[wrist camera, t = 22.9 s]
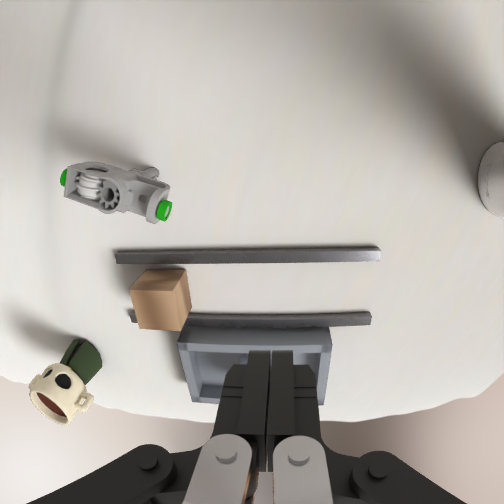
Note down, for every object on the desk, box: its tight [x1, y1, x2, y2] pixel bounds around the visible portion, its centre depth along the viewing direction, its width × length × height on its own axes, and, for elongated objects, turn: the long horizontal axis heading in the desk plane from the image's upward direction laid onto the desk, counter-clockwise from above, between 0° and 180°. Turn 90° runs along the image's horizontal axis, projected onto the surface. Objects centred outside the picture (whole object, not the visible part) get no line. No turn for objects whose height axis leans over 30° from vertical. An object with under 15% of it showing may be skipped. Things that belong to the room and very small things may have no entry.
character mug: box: [29, 339, 102, 425], centre depth 37 cm, size 11×7×13 cm, turn 84°
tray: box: [177, 326, 332, 405], centre depth 38 cm, size 18×11×4 cm, turn 92°
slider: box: [129, 270, 192, 331], centre depth 34 cm, size 6×5×5 cm
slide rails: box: [115, 247, 381, 328], centre depth 35 cm, size 30×10×1 cm, turn 92°
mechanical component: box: [60, 162, 172, 224], centre depth 27 cm, size 3×10×10 cm, turn 71°
